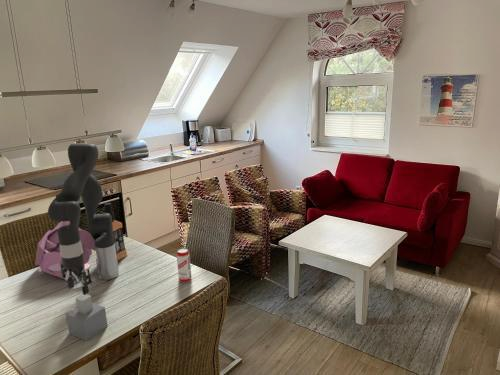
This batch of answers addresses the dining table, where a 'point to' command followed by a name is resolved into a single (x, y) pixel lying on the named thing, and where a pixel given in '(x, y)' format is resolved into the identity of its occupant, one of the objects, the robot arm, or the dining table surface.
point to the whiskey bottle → (116, 234)
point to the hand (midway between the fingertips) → (78, 290)
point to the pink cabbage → (53, 259)
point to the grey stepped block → (86, 318)
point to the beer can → (184, 265)
